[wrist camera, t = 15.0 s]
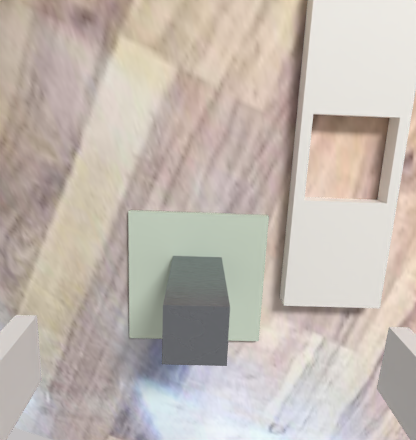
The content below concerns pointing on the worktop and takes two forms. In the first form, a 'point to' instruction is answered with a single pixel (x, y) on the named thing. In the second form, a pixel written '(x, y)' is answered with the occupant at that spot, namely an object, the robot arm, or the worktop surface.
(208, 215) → the pad
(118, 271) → the worktop surface
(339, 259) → the rail
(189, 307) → the square block
